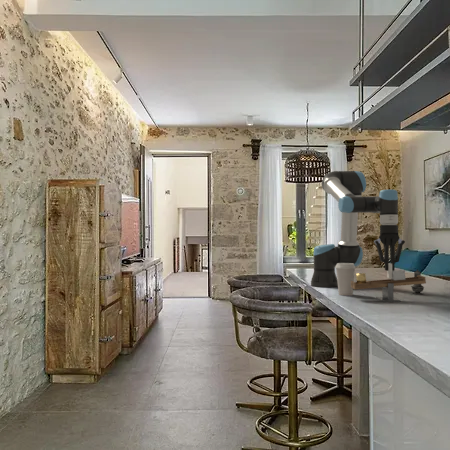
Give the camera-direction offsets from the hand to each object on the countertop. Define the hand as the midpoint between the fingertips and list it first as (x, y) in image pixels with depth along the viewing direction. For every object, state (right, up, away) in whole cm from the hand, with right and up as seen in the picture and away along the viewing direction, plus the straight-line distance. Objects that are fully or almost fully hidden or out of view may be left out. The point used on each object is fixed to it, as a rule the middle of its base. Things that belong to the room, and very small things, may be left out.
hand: (389, 278), depth 180 cm
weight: (-12, -3, +1) cm, 12 cm away
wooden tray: (-1, -3, 0) cm, 3 cm away
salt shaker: (+21, -10, +18) cm, 29 cm away
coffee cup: (-14, -10, +17) cm, 25 cm away
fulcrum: (-1, -10, 0) cm, 10 cm away
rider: (+4, -2, 0) cm, 4 cm away
